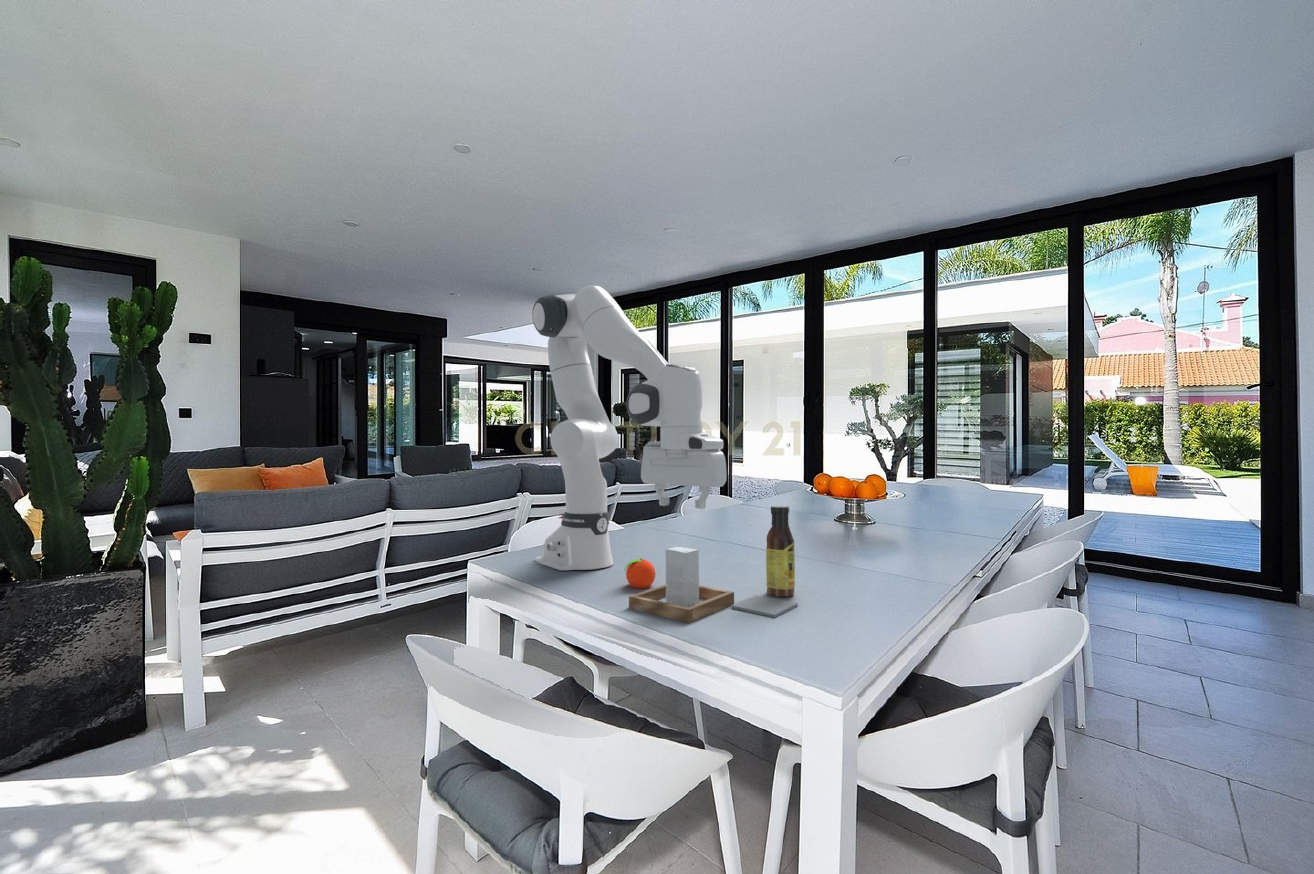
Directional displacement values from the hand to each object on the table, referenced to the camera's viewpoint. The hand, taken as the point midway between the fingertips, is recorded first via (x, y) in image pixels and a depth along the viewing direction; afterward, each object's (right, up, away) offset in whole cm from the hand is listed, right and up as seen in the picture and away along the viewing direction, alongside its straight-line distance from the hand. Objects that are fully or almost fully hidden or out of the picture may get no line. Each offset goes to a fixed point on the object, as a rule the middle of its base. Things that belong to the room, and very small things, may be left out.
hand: (681, 506), depth 123 cm
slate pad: (+17, -21, -1) cm, 27 cm away
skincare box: (0, -21, 0) cm, 21 cm away
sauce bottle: (+23, -21, +9) cm, 32 cm away
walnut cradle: (0, -21, 0) cm, 21 cm away
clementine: (-10, -21, +14) cm, 27 cm away
